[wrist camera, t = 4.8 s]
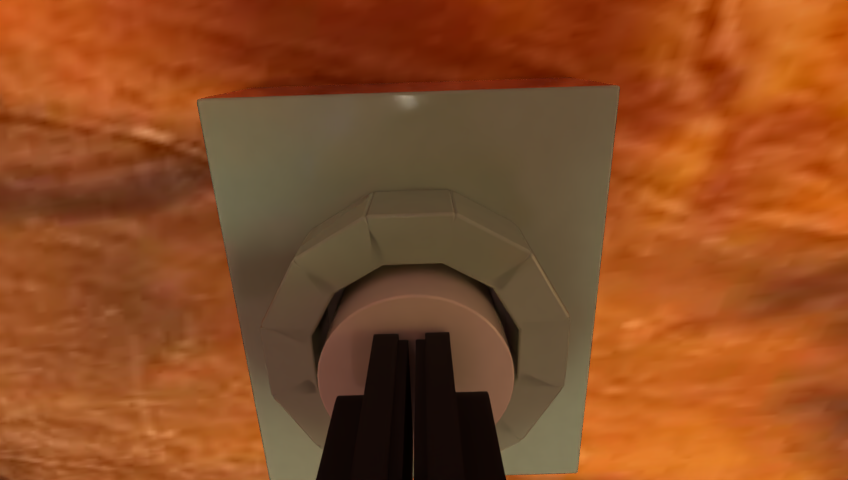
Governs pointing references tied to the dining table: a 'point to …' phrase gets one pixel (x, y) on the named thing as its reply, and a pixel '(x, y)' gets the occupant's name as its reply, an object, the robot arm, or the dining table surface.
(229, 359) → the dining table surface
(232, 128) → the button housing
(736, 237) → the dining table surface
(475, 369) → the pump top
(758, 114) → the dining table surface
